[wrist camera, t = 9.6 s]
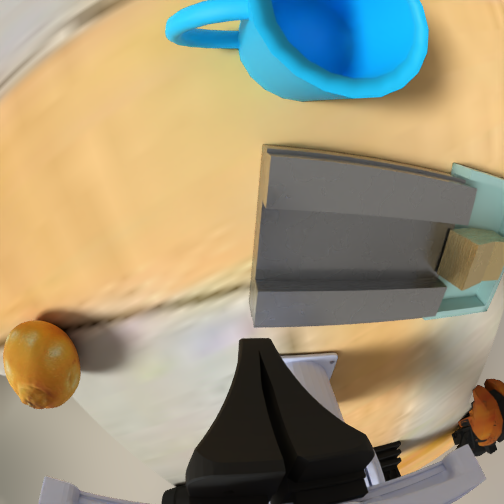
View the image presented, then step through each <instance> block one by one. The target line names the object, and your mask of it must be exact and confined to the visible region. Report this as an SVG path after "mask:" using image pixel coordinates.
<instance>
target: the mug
mask: <svg viewBox="0 0 504 504" xmlns="http://www.w3.org/2000/svg"><path fill="white" fill-rule="evenodd" d="M234 20H241V21H240V25H239V31H222V30H206V29H196V28H197V27H201V26H204V25H208V24H213V23H220V22H226V21H234ZM428 32H429V29H428V25H427V21H426V17H425V13H424V9H423V6H422V4H421V2H420V0H207V1H203V2H200V3H197V4H194V5H191V6H188V7H186V8H183V9H181V10H180V11H178V12H177V13H175V14H174V15H173V16H171V17H170V18H169V19H168V21H167V23H166V30H165V34H166V37H167V39H168V40H170V41H172V42H174V43H175V44H178V45H182V46H188V47H200V48H226V49H238V50H239V55H240V60H241V62H242V63H243V65H244V67H245V68H246V70H247V72H248V73H249V75H250V77H252V78H253V79H254V80H255V81H256V82H257V83H258V84H259V85H261V86H262V87H263V88H264V89H265V90H267V91H269V92H271V93H273V94H275V95H277V96H280V97H282V98H285V99H290V100H296V101H301V102H304V101H316V100H331V99H353V98H372V97H382V96H385V95H387V94H389V93H392V92H394V91H397V90H399V89H402V88H403V87H404V86H405V85H406V84H407V83H408V82H409V81H410V80H411V79H412V78H413V77H414V76H415V75H417V74H418V73H419V70H420V68H421V66H422V63H423V61H424V59H425V57H426V54H427V49H428Z"/></svg>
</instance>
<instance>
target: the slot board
mask: <svg viewBox="0 0 504 504" xmlns="http://www.w3.org/2000/svg"><path fill="white" fill-rule="evenodd" d="M476 193H477V188H475V187H472V186H470V185H468V184H466V180H464V179H462V178H459V177H457V176H455V175H452V174H449V173H445V172H441V171H437V170H432V169H428V168H423V167H419V166H414V165H409V164H404V163H399V162H394V161H388V160H383V159H377V158H371V157H365V156H359V155H352V154H345V153H338V152H331V151H323V150H315V149H306V148H296V147H286V146H275V145H263V146H262V157H261V169H260V181H259V192H258V204H257V216H256V227H255V239H254V250H253V262H252V273H251V285H250V296H249V304H250V311H251V317H252V319H253V325H254V327H300V326H324V325H343V324H358V323H372V322H384V321H395V320H405V319H415V318H424V317H432V316H436V314H437V311H438V309H439V307H440V304H441V302H442V299H443V297H444V295H445V292H446V290H447V286H446V285H445V284H444V283H443V282H442V281H441V280H440V279H439V278H438V277H439V275H438V274H437V271H438V268H439V265H440V262H441V259H442V256H443V253H444V249H445V246H446V243H447V239H448V236H449V233H450V230H452V229H454V227H455V224H459V225H467V226H468V224H469V221H470V217H471V213H472V210H473V206H474V202H475V197H476Z"/></svg>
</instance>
